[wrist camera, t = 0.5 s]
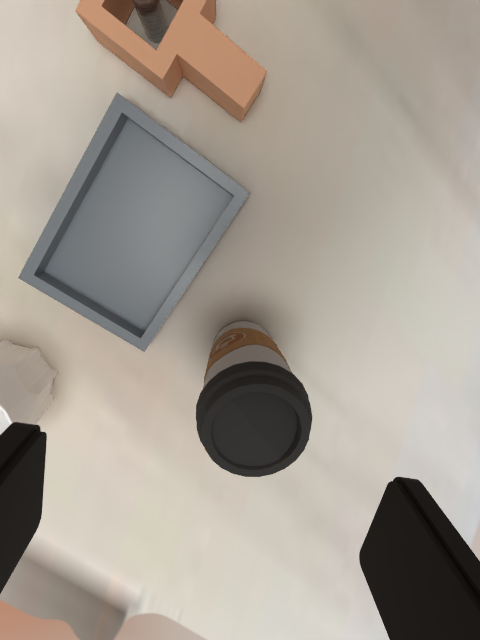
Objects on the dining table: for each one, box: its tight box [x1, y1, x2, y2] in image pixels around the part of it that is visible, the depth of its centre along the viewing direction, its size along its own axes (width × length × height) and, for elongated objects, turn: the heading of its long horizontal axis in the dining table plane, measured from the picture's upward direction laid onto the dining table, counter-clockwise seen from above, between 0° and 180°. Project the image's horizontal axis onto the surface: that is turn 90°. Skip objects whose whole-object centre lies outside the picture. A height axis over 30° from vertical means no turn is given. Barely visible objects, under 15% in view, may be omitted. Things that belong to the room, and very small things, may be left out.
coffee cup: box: [196, 321, 312, 477], centre depth 30 cm, size 8×8×15 cm
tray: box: [18, 93, 250, 352], centre depth 32 cm, size 18×13×2 cm
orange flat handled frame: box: [76, 0, 267, 122], centre depth 27 cm, size 7×13×4 cm, turn 55°
